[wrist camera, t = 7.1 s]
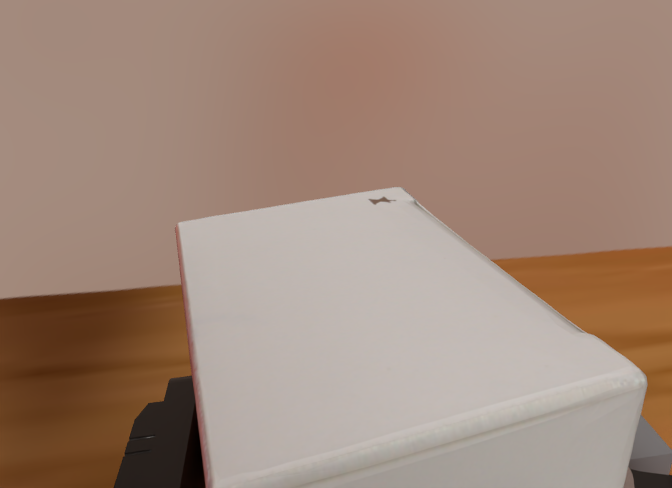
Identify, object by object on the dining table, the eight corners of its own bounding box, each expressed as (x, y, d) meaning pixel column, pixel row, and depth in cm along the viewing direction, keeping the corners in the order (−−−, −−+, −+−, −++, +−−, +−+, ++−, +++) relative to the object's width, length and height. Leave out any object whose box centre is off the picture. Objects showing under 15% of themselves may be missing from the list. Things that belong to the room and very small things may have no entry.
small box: (237, 535, 17) (169, 216, 12) (406, 483, 18) (401, 178, 14) (297, 918, 10) (190, 501, 5) (566, 788, 11) (661, 366, 7)
